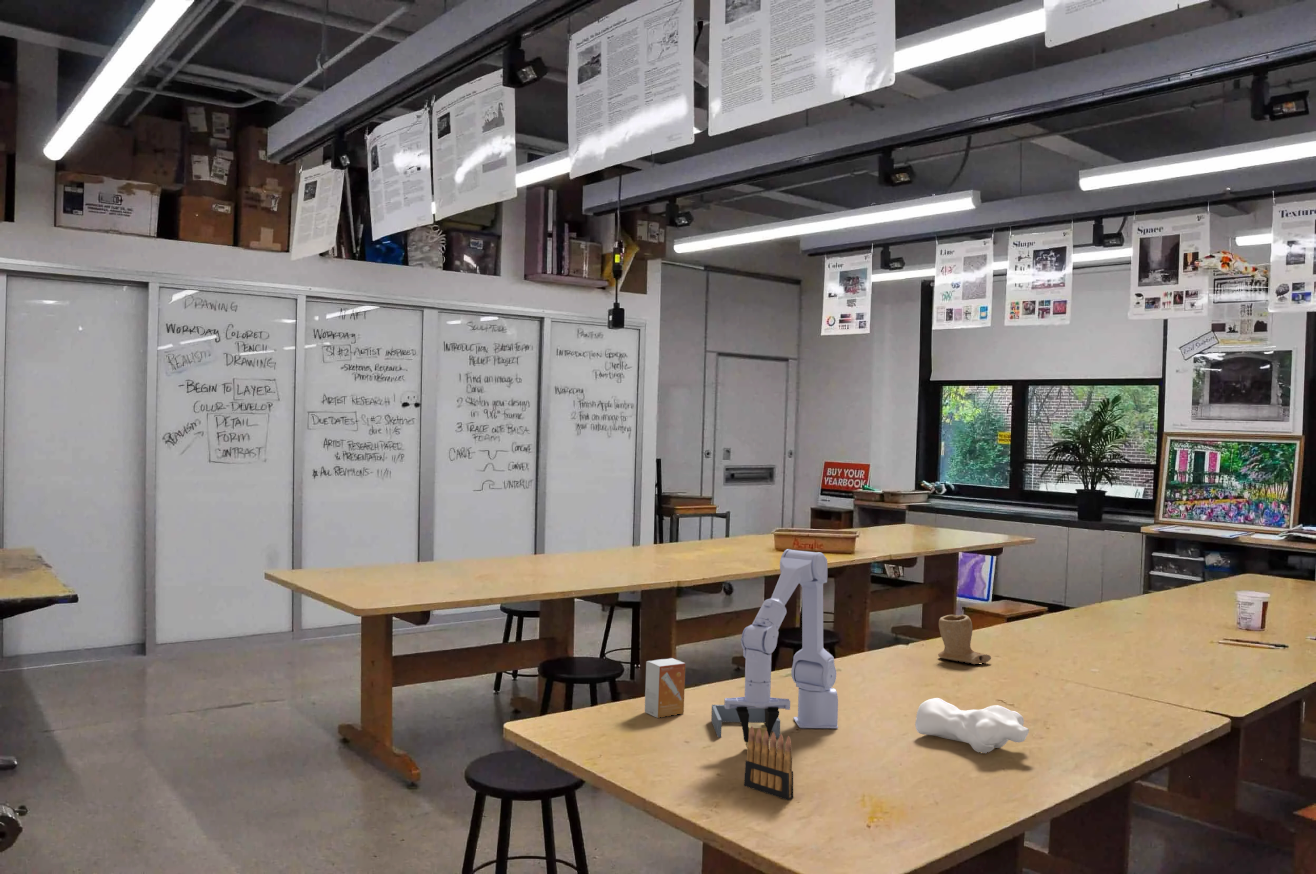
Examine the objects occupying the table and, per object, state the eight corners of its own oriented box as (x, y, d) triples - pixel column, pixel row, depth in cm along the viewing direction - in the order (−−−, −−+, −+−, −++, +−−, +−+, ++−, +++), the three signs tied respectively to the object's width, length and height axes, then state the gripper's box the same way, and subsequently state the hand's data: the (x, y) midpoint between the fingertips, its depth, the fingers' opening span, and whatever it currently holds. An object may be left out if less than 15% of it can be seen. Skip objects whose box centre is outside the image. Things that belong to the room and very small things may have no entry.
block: (763, 744, 216) (763, 722, 216) (766, 750, 212) (766, 728, 212) (745, 744, 215) (746, 722, 215) (748, 750, 211) (749, 728, 211)
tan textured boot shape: (929, 660, 310) (931, 613, 310) (949, 655, 318) (950, 610, 318) (972, 669, 298) (974, 621, 298) (991, 663, 306) (993, 617, 306)
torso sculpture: (907, 746, 224) (1006, 766, 206) (905, 704, 225) (1004, 720, 206) (949, 732, 236) (1047, 750, 218) (947, 692, 237) (1044, 706, 218)
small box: (657, 718, 236) (659, 666, 236) (643, 712, 241) (645, 660, 241) (684, 714, 241) (686, 662, 241) (670, 708, 246) (671, 657, 246)
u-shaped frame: (770, 721, 236) (770, 705, 236) (779, 737, 224) (780, 720, 224) (711, 721, 235) (711, 704, 235) (717, 737, 223) (718, 720, 223)
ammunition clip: (743, 785, 192) (745, 726, 192) (749, 783, 193) (750, 724, 193) (788, 800, 185) (790, 738, 185) (793, 797, 186) (795, 736, 186)
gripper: (728, 684, 209) (726, 746, 209) (793, 684, 210) (792, 746, 210) (723, 676, 216) (722, 736, 216) (787, 676, 217) (785, 736, 217)
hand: (756, 740), depth 213 cm, fingers closed on block, 4 cm apart
